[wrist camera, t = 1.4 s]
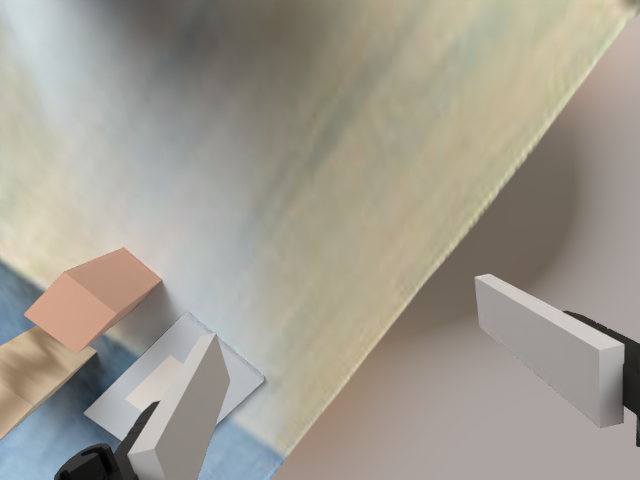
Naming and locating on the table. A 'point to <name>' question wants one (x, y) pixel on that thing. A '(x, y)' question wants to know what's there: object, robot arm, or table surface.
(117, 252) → the terracotta block
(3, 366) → the beech block
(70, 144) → the table surface
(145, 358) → the white flat board
